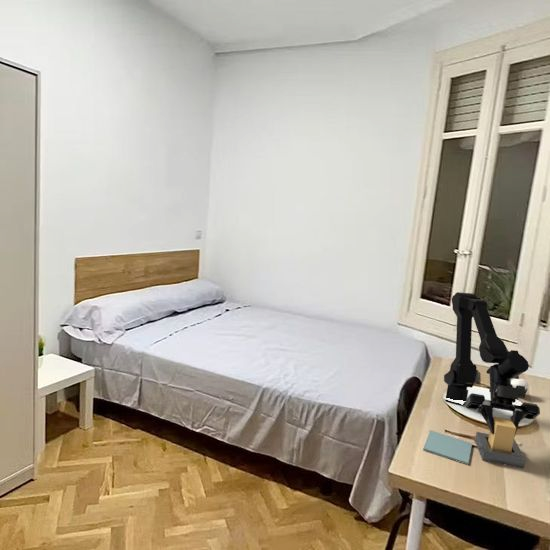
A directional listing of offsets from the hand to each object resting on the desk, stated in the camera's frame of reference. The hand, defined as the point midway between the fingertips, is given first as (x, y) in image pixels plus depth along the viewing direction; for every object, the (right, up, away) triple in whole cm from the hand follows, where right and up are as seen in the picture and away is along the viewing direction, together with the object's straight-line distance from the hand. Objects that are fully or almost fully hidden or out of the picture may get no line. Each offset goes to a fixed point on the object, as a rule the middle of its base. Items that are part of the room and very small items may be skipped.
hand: (503, 435), depth 127 cm
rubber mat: (-14, -5, +4) cm, 15 cm away
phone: (+16, +3, +61) cm, 63 cm away
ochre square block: (0, -6, +3) cm, 7 cm away
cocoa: (+28, -1, +46) cm, 54 cm away
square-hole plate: (0, -6, +3) cm, 7 cm away
